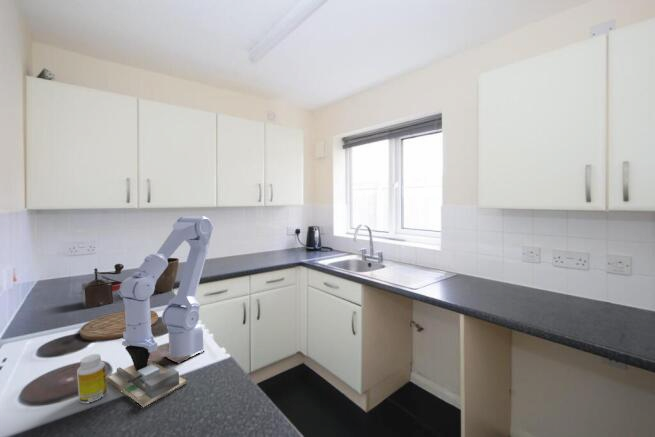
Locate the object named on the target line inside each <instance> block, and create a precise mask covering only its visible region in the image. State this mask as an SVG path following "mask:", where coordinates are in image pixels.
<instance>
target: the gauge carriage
mask: <svg viewBox="0 0 655 437" xmlns="http://www.w3.org/2000/svg"><path fill="white" fill-rule="evenodd" d="M158 375H160V370H159V368H157V367H155V366H153V365H152V364H151V365H149V366H147V367H145V368H143V369H140V370H138V376H137V377H135V378H133V379H131V380H129V381H128V383H130V382H132V381H134V380H136V379H139V380H140V381H142V382H143V383H145V382H146V381H148V380H150V379H152V378H154V377H156V376H158Z"/></svg>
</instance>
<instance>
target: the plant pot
mask: <svg viewBox="0 0 655 437" xmlns="http://www.w3.org/2000/svg"><path fill="white" fill-rule="evenodd" d="M179 261H180V260H179V258H178V257H169V258H168V266H167V268H166V269H165V270H164V272H163V273H162V274H161V275H160V277H159V278H158V279H157V282H156V284H155V289H154V290H155V291H156V293H168V292H171V291H172V290H173V289H174V286H175V282H176V279H177V275H178V268H179Z"/></svg>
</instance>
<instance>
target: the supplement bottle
mask: <svg viewBox="0 0 655 437" xmlns="http://www.w3.org/2000/svg"><path fill="white" fill-rule="evenodd" d="M76 376H77V377H76V379H77V380H76V381H77V393H78V401H79V402H80V403H81V402H82V403H81V404H88V403H87V402H92V401H95V400H97V401H99V400H100V398H101V397H102V398H103V397H105V395H107V391H108V390H107V381H106V376H107V374H106V363H105V362H104V361H102V358H101V354H98V353H94V354H93V353H92V354H89V355H87V356H84V357H82V358H81V359H80V366H79V367H78V368H77V370H76ZM102 398H101V399H102ZM98 399H99V400H98ZM95 402H96V401H95ZM92 403H93V402H92Z"/></svg>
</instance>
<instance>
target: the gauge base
mask: <svg viewBox="0 0 655 437" xmlns="http://www.w3.org/2000/svg"><path fill="white" fill-rule="evenodd" d="M149 365H151V364H147V366H149ZM152 365H153V364H152ZM153 366H155V367H157V368H159V370H160V375H158V376H156V377H154V378H152V379H150V380H148V381H146V382H145V383H143V382H142V381H140V380H139V379H136V380H134V381H132V382H130V383H128V381H129V380H131V379H133V378H135V377H137V376H138V372H137V371H136V369H135V367H134V364H131V365H130V366H127V367H125V368H122V367H118V368H116V372H113V373H111V374H109V375H106V380H107V381H108V382H109V384H110V385H111V386H112V385H113V386H112V387H113V388H115V387H116V388H117V389H116V388H115V389H116V390H118V389H119V390H120V391H122V392H123V393H125V394H126V395H128V396H129V397H131V398H132V399H134V400H135V401H136V402H137V403H139V404H140V405H141V406H142V407H144V406H146V405H148V404H150V403H151V402H153V401H155V400H156V399H157V398H159V397H161V396H163V395H164V394H166V393H168V392H170V391H172V390H174V389H175V388H177V387H179V386H181V385H183V384H185V383H186V382H187V379H185V378H183V377H181V376H180V374H179V373H180V372H179V371H178V370H176V369H174V368H171V369H167V368H165V367H164V366H162V365H160V364H158V363H157V365H156V364H154V365H153ZM107 381H106V382H107ZM108 382H107V383H108ZM119 390H118V391H119ZM120 391H119V392H120ZM122 392H121V393H122ZM123 393H122V394H123ZM126 395H125V396H126ZM142 407H141V408H142Z"/></svg>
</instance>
